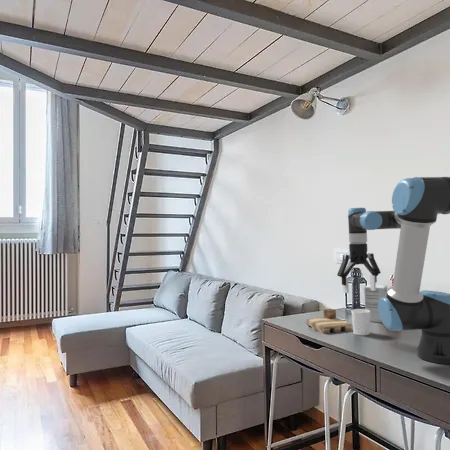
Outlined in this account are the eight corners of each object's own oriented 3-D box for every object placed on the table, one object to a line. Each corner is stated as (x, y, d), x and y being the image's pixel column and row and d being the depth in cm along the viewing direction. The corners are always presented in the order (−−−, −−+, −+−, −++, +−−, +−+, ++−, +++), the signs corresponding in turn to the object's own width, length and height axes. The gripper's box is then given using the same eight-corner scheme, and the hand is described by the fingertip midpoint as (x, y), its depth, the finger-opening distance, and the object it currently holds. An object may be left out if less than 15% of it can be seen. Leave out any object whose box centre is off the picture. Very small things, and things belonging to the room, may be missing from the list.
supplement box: (369, 317, 208) (368, 284, 208) (388, 318, 204) (387, 284, 204) (365, 321, 200) (363, 286, 200) (384, 323, 195) (383, 287, 195)
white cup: (368, 331, 182) (367, 308, 182) (373, 335, 175) (372, 312, 175) (350, 331, 183) (349, 308, 183) (354, 336, 175) (353, 312, 175)
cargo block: (336, 318, 196) (335, 309, 196) (329, 319, 194) (329, 310, 194) (330, 316, 199) (330, 308, 199) (323, 317, 197) (323, 309, 197)
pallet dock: (351, 330, 184) (351, 323, 184) (323, 333, 181) (323, 326, 181) (332, 322, 200) (332, 316, 200) (307, 325, 196) (306, 319, 196)
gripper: (377, 241, 186) (378, 288, 186) (328, 244, 179) (329, 292, 179) (387, 242, 179) (389, 290, 179) (337, 244, 172) (339, 295, 172)
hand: (359, 291), depth 179 cm, fingers open, 13 cm apart
